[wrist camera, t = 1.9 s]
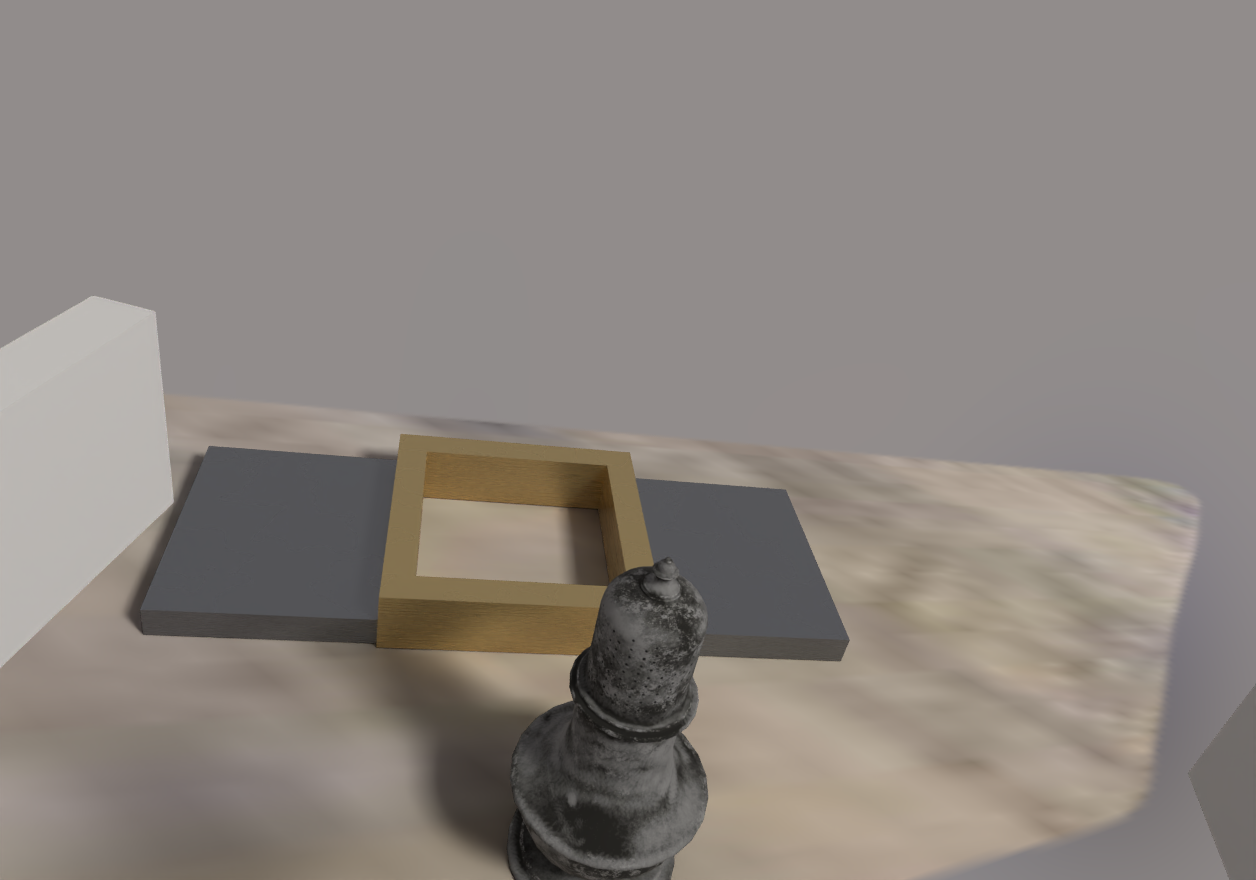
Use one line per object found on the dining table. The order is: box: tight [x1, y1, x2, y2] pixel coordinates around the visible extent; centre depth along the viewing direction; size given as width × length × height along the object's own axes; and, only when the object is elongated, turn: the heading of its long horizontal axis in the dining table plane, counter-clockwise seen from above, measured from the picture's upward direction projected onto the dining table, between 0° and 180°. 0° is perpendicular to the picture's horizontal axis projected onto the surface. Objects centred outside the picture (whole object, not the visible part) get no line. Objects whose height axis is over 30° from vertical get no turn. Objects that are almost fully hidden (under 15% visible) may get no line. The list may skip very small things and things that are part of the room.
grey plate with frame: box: [140, 434, 849, 661], centre depth 40 cm, size 26×10×2 cm, turn 97°
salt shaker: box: [507, 557, 708, 880], centre depth 27 cm, size 6×6×12 cm
